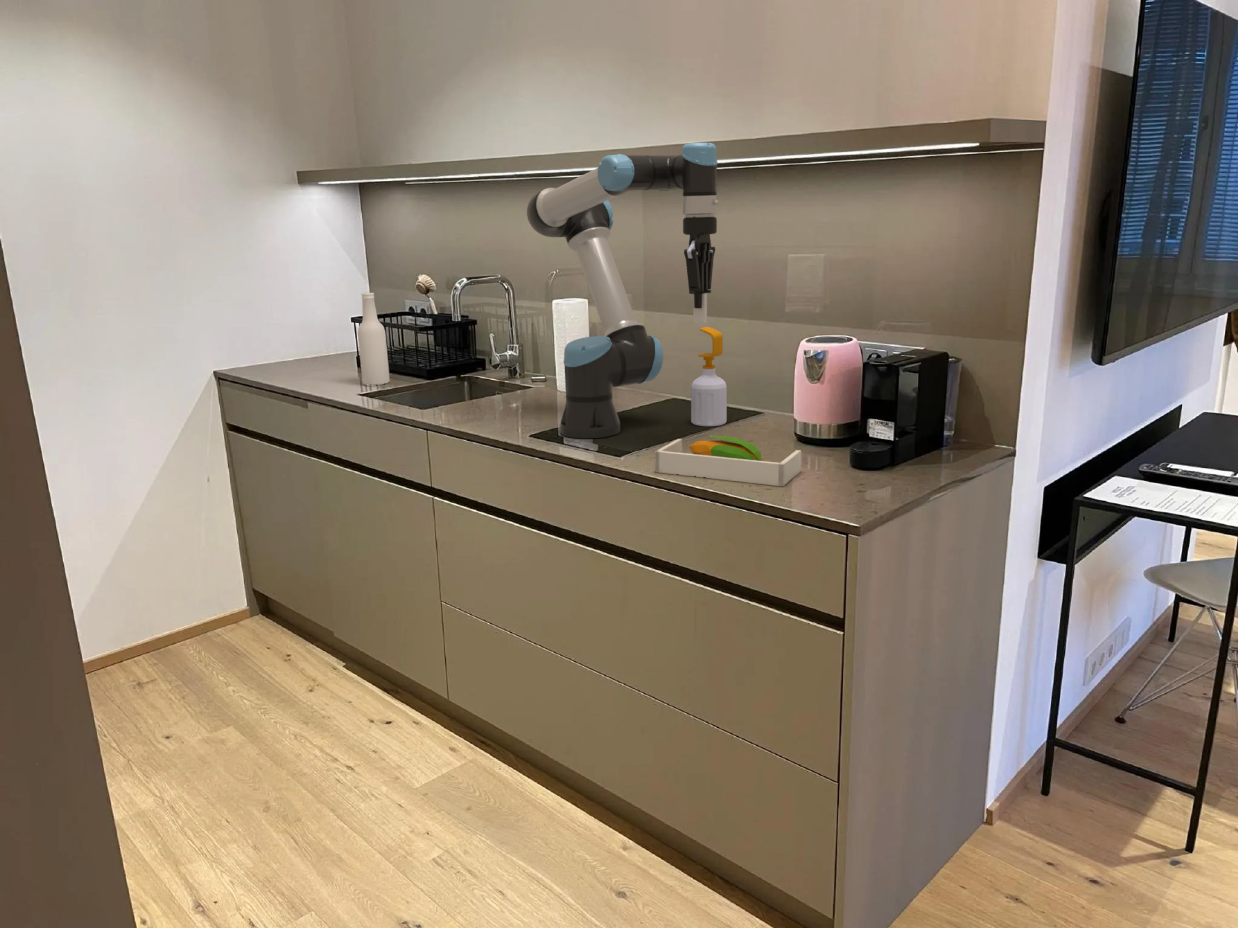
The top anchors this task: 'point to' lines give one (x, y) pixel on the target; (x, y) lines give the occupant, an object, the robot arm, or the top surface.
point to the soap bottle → (709, 388)
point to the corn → (727, 448)
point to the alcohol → (372, 344)
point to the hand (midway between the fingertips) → (700, 322)
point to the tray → (726, 466)
